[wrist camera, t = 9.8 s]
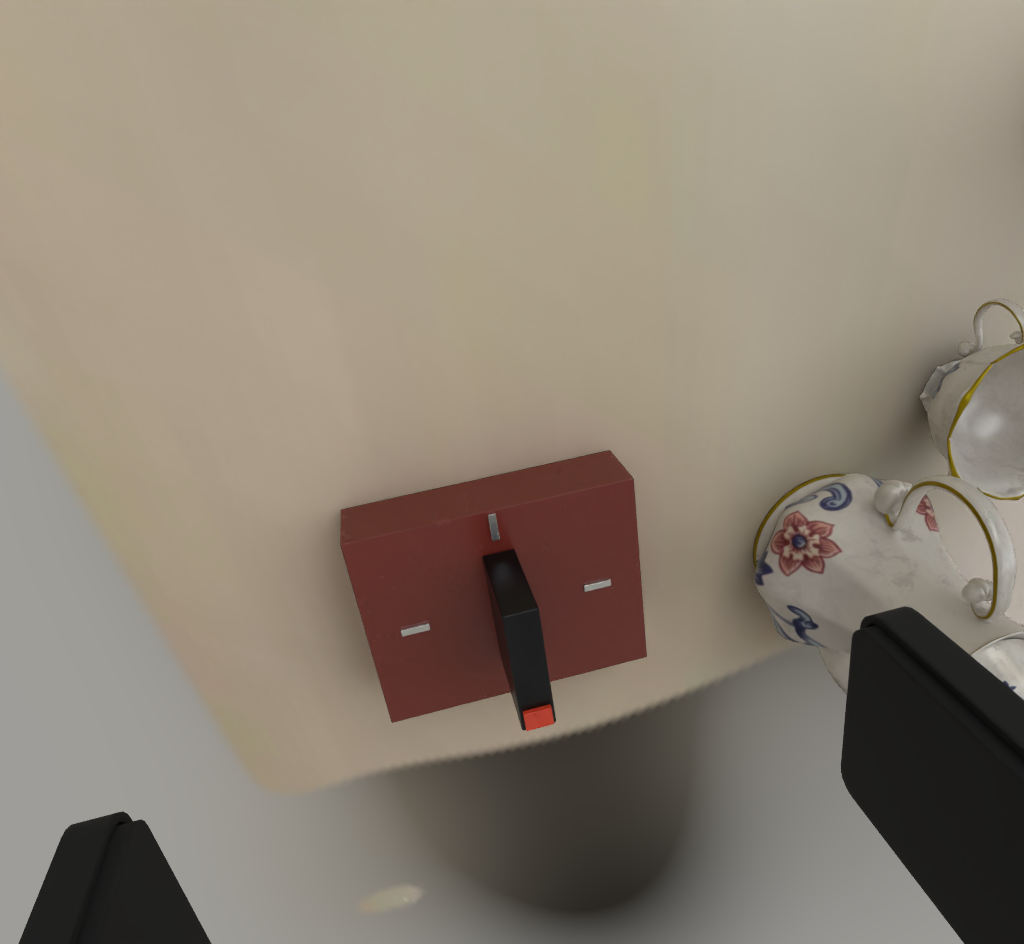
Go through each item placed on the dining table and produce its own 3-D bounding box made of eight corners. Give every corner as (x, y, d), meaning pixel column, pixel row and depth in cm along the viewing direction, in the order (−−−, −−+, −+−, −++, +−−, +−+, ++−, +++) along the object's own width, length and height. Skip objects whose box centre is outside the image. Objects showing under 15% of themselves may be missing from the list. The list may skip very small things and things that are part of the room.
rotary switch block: (609, 449, 38) (635, 479, 35) (625, 618, 43) (648, 658, 39) (340, 509, 36) (340, 546, 33) (388, 678, 41) (391, 725, 38)
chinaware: (928, 668, 52) (1185, 868, 38) (723, 740, 48) (921, 993, 34) (1001, 272, 40) (1421, 345, 26) (734, 327, 36) (1052, 448, 22)
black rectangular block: (481, 555, 35) (503, 620, 30) (514, 547, 35) (540, 611, 30) (501, 661, 38) (523, 735, 33) (531, 653, 38) (558, 726, 33)
